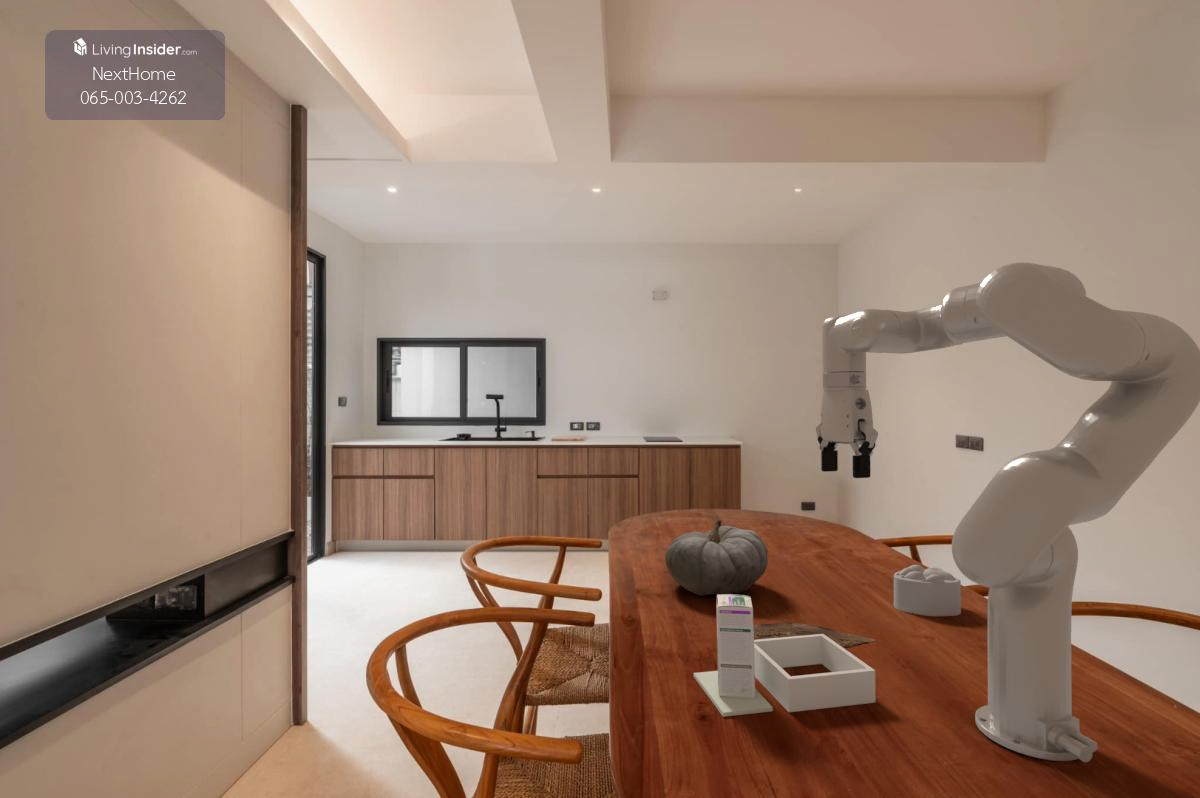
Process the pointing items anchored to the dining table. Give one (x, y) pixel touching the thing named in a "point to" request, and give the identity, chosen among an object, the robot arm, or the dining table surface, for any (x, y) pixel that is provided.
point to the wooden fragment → (806, 633)
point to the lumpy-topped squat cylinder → (927, 592)
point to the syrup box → (735, 646)
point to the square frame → (812, 691)
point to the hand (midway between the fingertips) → (844, 474)
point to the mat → (728, 704)
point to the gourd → (717, 560)
